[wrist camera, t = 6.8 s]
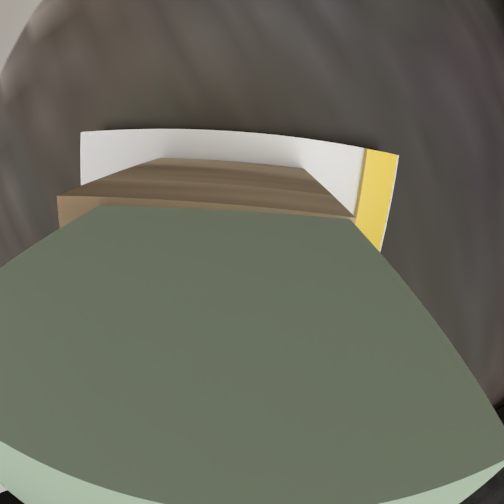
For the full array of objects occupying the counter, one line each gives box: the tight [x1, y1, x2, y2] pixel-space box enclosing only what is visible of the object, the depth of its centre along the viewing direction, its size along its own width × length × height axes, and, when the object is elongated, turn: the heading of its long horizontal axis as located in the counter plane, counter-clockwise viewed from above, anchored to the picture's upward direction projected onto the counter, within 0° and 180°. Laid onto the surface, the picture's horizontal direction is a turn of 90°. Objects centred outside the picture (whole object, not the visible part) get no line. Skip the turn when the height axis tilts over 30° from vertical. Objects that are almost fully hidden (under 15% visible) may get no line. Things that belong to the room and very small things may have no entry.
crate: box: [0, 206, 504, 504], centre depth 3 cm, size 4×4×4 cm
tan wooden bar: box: [57, 158, 356, 228], centre depth 11 cm, size 18×5×6 cm, turn 175°
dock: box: [80, 129, 399, 252], centre depth 14 cm, size 20×12×2 cm, turn 175°
